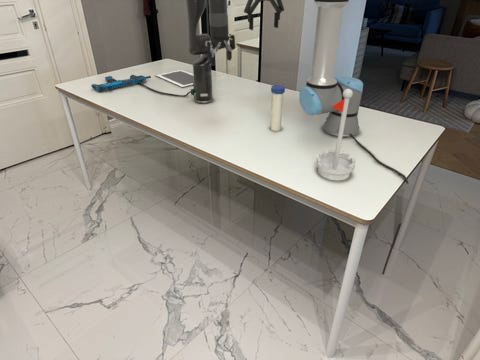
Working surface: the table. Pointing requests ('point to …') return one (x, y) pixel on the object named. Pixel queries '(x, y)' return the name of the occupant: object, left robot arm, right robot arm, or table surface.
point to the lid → (277, 89)
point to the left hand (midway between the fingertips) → (221, 62)
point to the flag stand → (337, 149)
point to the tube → (276, 111)
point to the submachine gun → (119, 82)
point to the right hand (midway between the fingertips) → (263, 28)
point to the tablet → (178, 78)
